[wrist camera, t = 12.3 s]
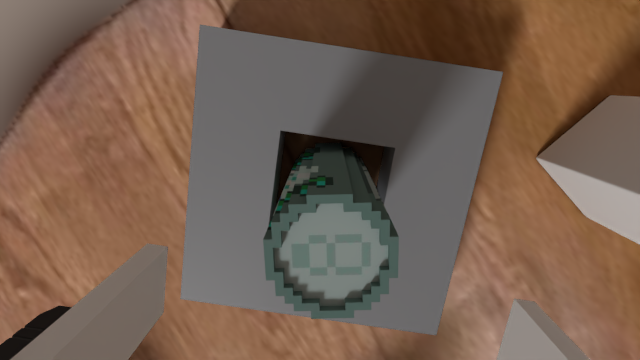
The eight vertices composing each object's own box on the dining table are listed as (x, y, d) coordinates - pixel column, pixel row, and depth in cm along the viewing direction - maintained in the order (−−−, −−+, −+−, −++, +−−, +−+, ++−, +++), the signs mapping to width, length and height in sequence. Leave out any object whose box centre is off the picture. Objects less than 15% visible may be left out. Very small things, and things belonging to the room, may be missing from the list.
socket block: (477, 73, 30) (503, 72, 26) (422, 303, 35) (436, 335, 31) (218, 32, 30) (199, 24, 25) (198, 271, 35) (180, 298, 30)
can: (290, 143, 32) (260, 196, 17) (366, 141, 32) (399, 192, 17) (294, 215, 33) (268, 319, 19) (366, 213, 33) (397, 317, 19)
